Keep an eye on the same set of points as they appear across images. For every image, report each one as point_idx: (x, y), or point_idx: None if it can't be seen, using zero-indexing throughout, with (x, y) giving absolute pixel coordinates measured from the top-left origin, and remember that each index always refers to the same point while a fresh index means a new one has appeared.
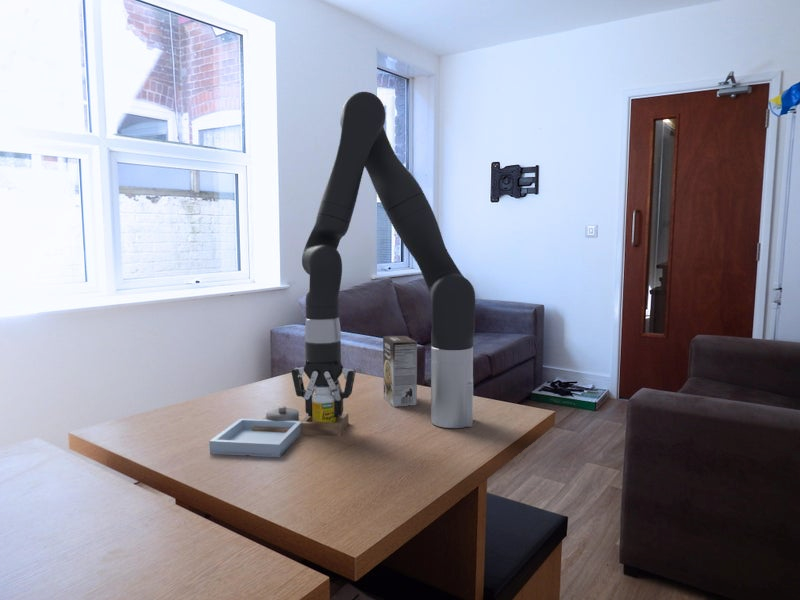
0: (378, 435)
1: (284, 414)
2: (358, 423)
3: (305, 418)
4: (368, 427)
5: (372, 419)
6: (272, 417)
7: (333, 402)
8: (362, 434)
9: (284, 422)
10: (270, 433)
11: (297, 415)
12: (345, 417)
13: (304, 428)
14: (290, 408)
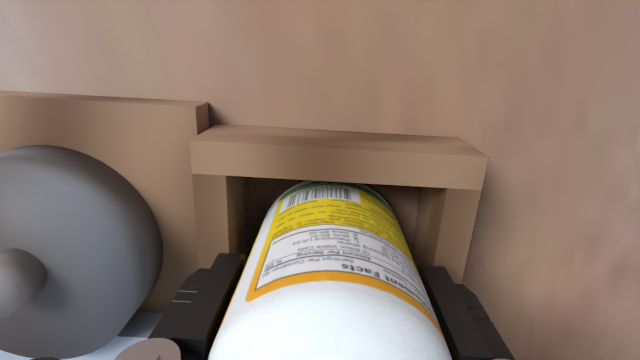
0: (624, 310)
1: (56, 304)
2: (522, 131)
3: None
4: (582, 199)
5: (628, 36)
6: (15, 353)
7: None
8: (541, 301)
9: (114, 353)
10: (91, 357)
11: (140, 275)
12: (467, 239)
13: None
14: (19, 174)
